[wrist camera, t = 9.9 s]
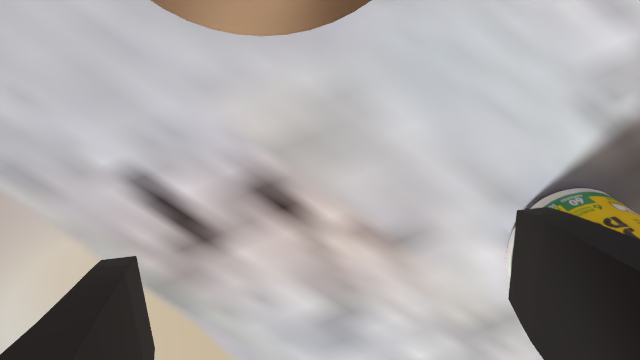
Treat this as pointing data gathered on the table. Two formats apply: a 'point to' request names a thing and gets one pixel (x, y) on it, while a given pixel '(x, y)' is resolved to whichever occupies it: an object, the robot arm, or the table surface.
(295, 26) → the walnut bowl
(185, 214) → the table surface
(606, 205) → the supplement bottle
